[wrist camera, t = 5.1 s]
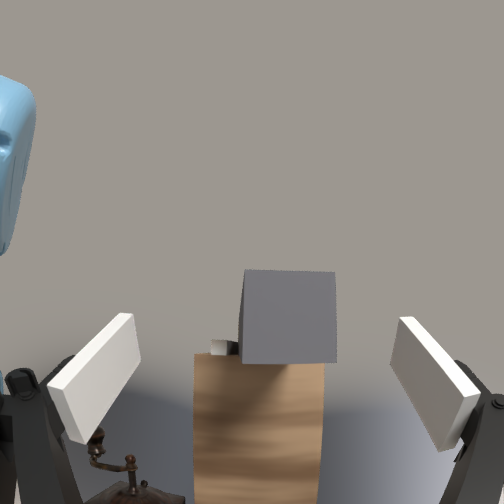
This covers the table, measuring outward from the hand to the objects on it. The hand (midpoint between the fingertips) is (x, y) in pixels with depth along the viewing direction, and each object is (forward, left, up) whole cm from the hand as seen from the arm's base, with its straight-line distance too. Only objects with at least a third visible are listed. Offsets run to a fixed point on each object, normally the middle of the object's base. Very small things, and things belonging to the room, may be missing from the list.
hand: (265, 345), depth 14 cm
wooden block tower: (-10, +11, -31) cm, 34 cm away
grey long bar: (-8, +9, -1) cm, 12 cm away
